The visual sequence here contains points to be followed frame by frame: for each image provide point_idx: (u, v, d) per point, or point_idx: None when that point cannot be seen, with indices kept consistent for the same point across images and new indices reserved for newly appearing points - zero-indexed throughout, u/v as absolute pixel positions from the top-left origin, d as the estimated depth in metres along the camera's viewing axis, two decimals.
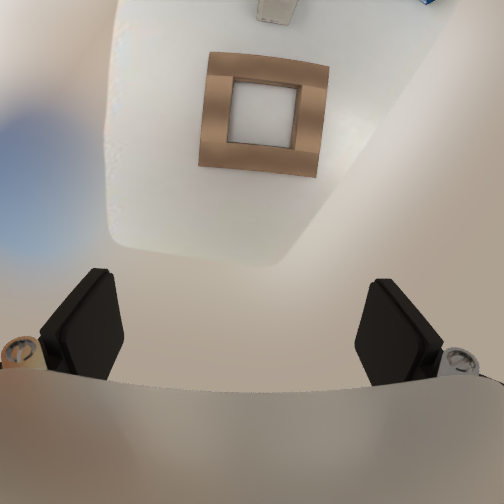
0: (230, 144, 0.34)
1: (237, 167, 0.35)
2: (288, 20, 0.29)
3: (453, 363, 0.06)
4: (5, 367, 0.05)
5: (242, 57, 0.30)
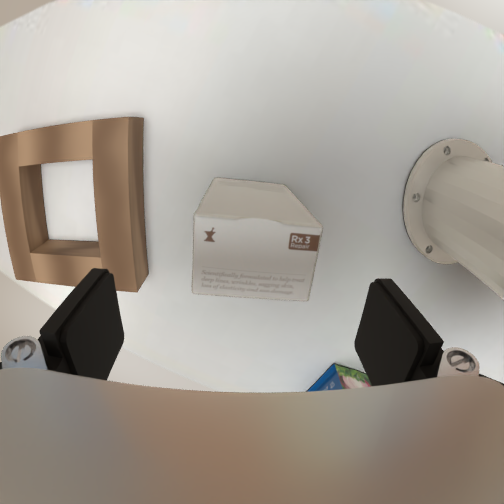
0: (17, 172, 0.20)
1: (0, 186, 0.20)
2: None
3: (453, 363, 0.06)
4: (5, 367, 0.05)
5: (122, 169, 0.21)
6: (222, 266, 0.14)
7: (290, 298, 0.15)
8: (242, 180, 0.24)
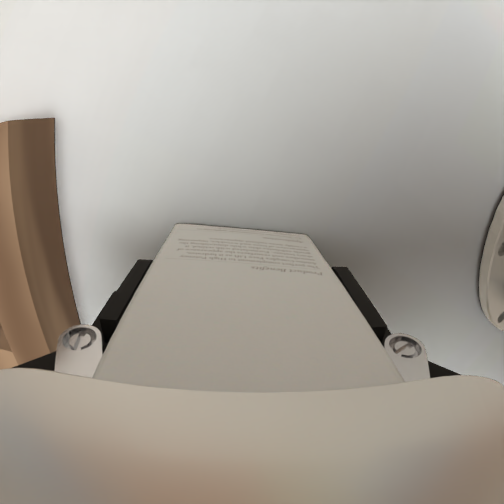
0: None
1: None
2: None
3: (397, 350, 0.07)
4: (65, 355, 0.06)
5: (7, 219, 0.09)
6: None
7: None
8: (227, 230, 0.13)
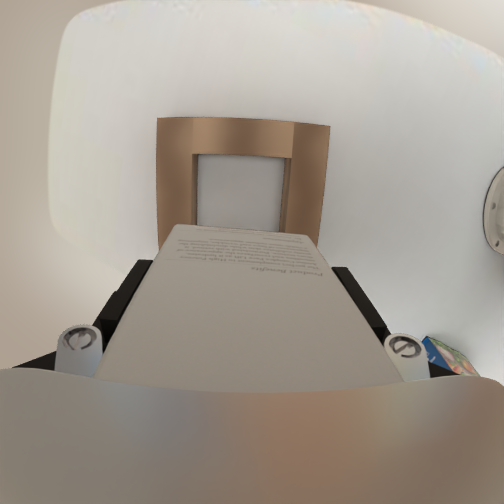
0: (190, 160, 0.24)
1: (158, 172, 0.24)
2: None
3: (397, 350, 0.07)
4: (65, 355, 0.06)
5: (320, 171, 0.25)
6: None
7: None
8: (227, 231, 0.12)
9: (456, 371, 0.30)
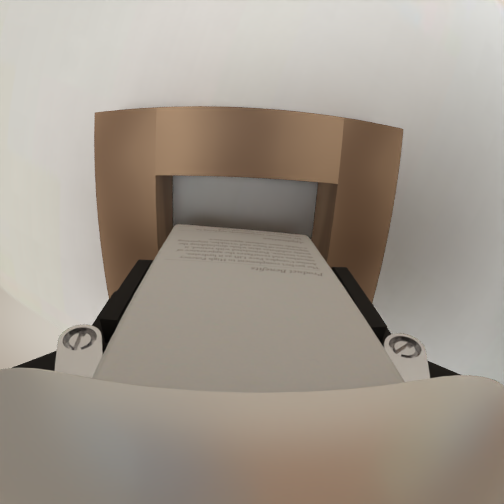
0: (152, 187, 0.13)
1: (100, 209, 0.13)
2: None
3: (397, 350, 0.07)
4: (66, 355, 0.06)
5: (384, 207, 0.14)
6: None
7: None
8: (227, 231, 0.12)
9: None
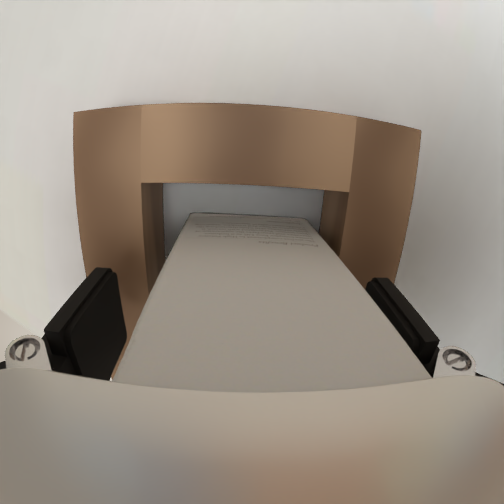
0: (137, 196, 0.11)
1: (81, 221, 0.12)
2: None
3: (449, 362, 0.06)
4: (9, 366, 0.05)
5: (400, 218, 0.12)
6: None
7: None
8: (236, 217, 0.14)
9: None
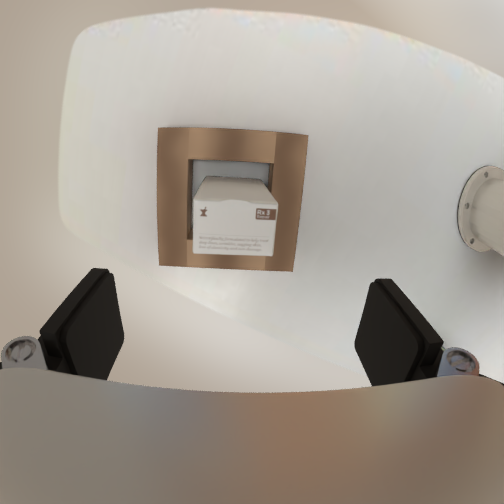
0: (186, 164, 0.28)
1: (158, 175, 0.28)
2: None
3: (453, 363, 0.06)
4: (5, 367, 0.05)
5: (299, 174, 0.29)
6: (212, 232, 0.21)
7: (260, 254, 0.22)
8: (227, 177, 0.31)
9: None
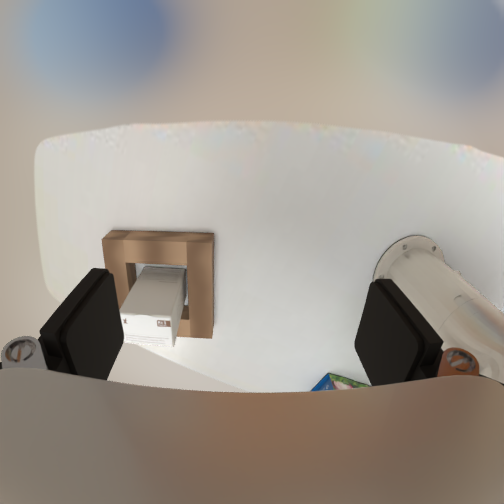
0: (124, 266, 0.37)
1: None
2: None
3: (453, 363, 0.06)
4: (5, 367, 0.05)
5: (207, 272, 0.38)
6: (132, 332, 0.30)
7: (165, 345, 0.31)
8: (159, 269, 0.40)
9: None
